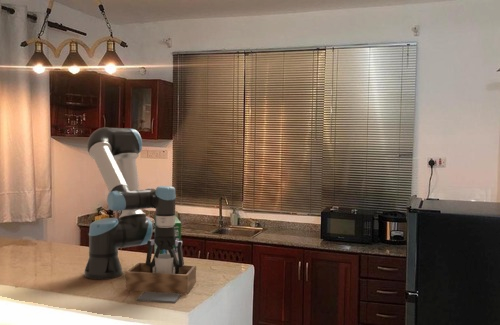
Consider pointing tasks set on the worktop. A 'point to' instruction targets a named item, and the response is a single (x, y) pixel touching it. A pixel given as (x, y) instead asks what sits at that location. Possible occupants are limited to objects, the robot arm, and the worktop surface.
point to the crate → (160, 279)
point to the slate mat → (159, 297)
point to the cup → (164, 264)
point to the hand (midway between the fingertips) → (164, 283)
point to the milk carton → (177, 237)
